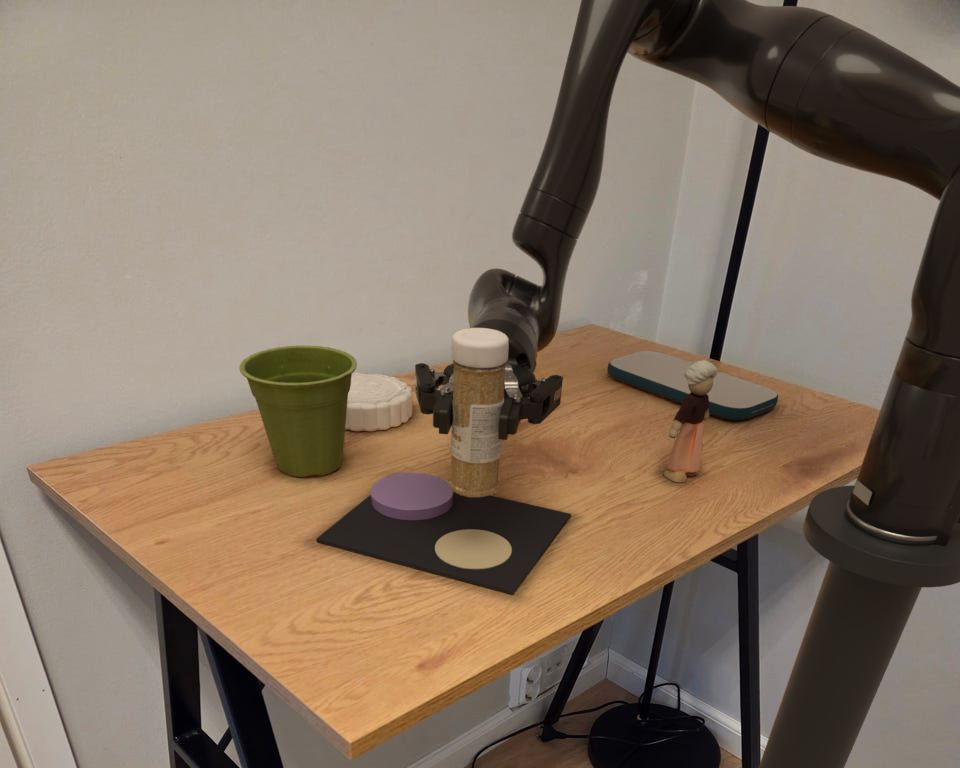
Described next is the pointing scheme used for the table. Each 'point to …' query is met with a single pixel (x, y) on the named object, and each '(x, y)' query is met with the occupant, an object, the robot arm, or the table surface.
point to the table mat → (456, 539)
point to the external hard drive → (669, 381)
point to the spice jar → (477, 410)
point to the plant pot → (302, 404)
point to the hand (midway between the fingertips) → (473, 425)
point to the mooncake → (377, 402)
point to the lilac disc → (412, 496)
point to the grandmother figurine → (691, 423)
